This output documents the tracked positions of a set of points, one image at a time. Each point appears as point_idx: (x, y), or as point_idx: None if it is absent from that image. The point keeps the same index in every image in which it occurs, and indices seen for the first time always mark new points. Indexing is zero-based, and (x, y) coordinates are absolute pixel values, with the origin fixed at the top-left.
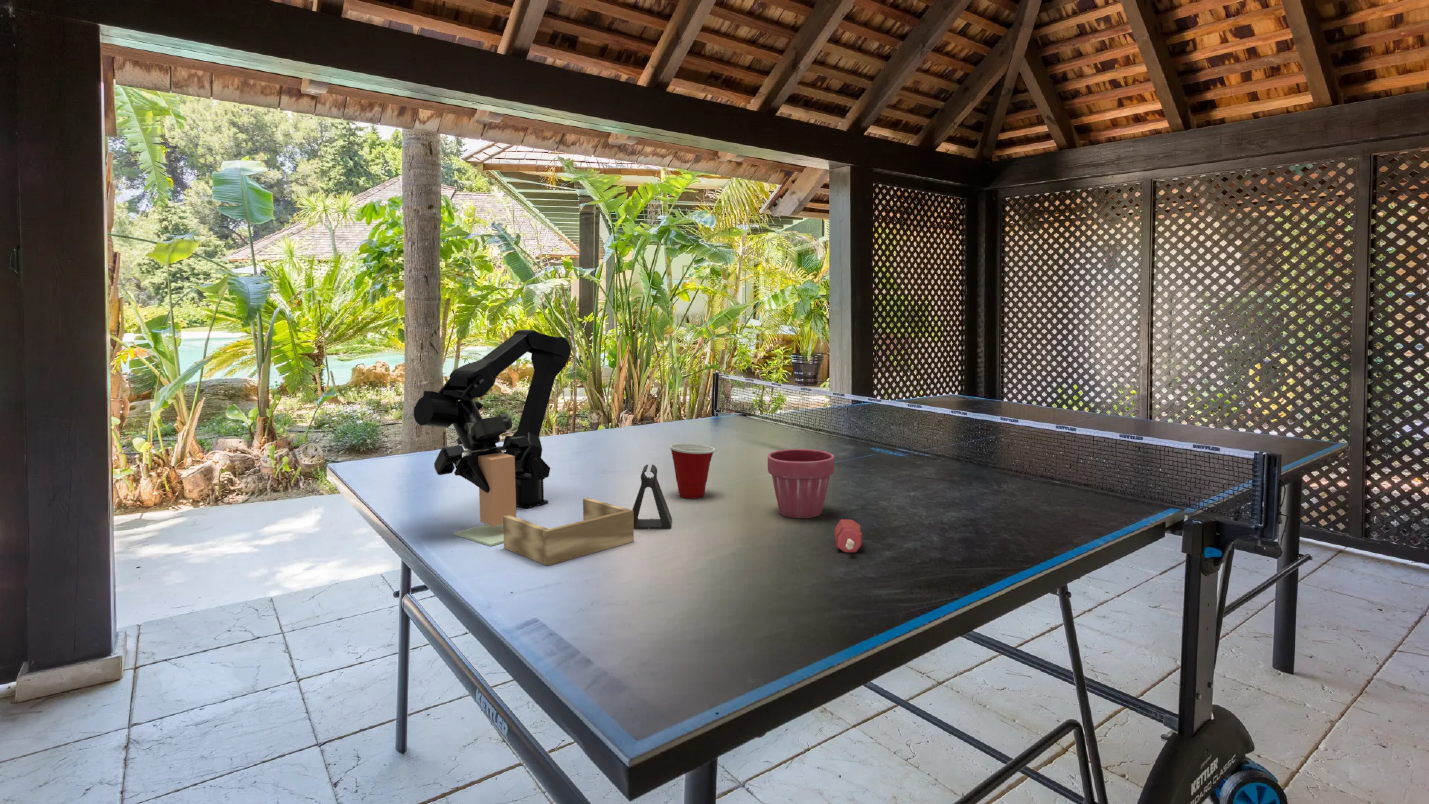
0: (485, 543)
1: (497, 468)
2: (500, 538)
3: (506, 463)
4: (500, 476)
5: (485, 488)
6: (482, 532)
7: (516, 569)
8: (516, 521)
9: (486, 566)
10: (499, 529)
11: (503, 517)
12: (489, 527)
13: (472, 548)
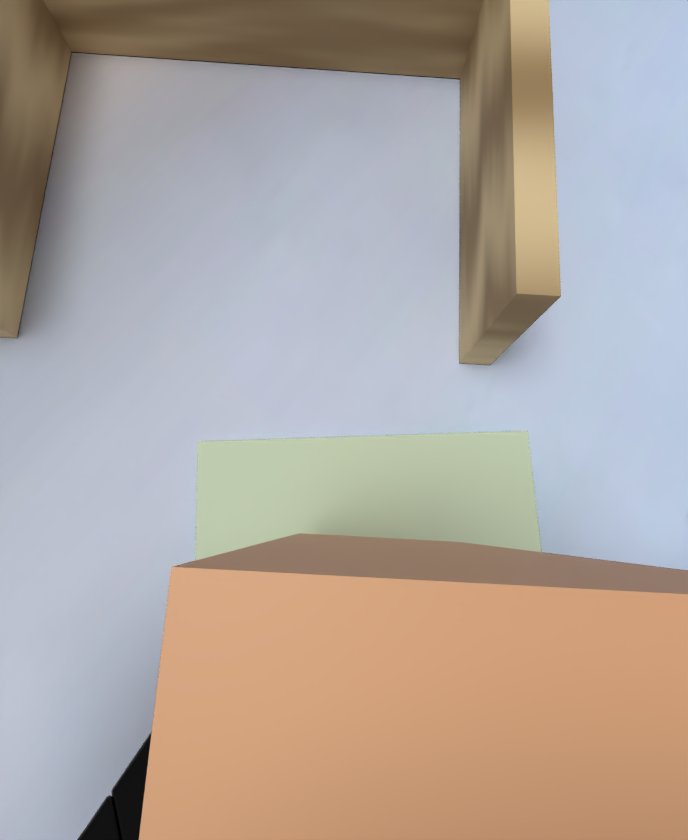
0: (531, 475)
1: (627, 572)
2: (440, 479)
3: (439, 567)
4: (507, 557)
5: None
6: None
7: (594, 111)
8: (554, 148)
9: (665, 219)
10: None
11: (557, 293)
12: None
13: (600, 476)
